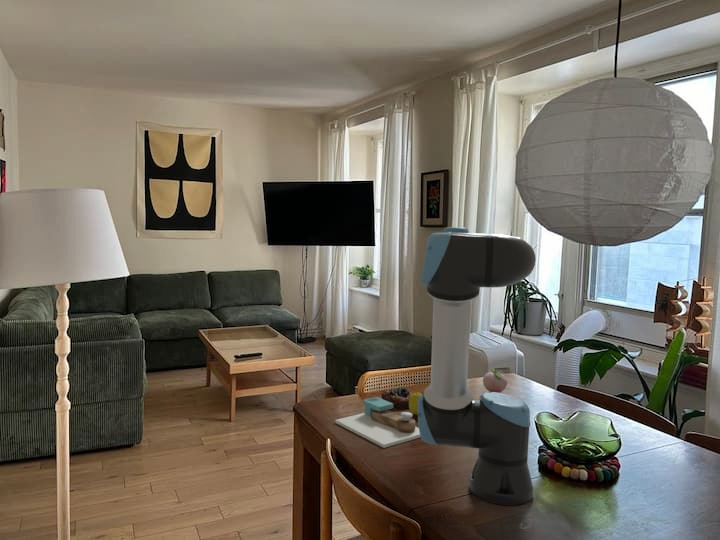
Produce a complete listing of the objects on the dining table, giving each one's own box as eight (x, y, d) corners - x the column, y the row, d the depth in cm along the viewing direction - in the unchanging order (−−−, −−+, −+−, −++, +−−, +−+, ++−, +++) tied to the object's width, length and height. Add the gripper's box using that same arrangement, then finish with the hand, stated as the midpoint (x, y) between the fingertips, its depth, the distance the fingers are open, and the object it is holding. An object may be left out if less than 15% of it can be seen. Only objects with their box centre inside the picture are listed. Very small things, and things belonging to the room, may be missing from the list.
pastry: (376, 402, 206) (377, 386, 205) (403, 397, 213) (404, 382, 212) (394, 411, 197) (395, 395, 196) (422, 406, 203) (423, 390, 203)
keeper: (392, 421, 186) (393, 403, 186) (378, 425, 183) (379, 407, 182) (376, 414, 193) (376, 396, 192) (362, 417, 189) (362, 399, 189)
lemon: (424, 412, 196) (425, 389, 195) (424, 418, 191) (425, 394, 190) (408, 411, 197) (409, 388, 196) (408, 417, 191) (409, 393, 190)
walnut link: (418, 429, 177) (419, 421, 177) (406, 433, 173) (407, 425, 173) (381, 415, 188) (381, 408, 188) (369, 419, 184) (369, 411, 184)
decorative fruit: (478, 391, 222) (479, 366, 221) (497, 390, 224) (499, 365, 223) (489, 399, 213) (490, 372, 212) (509, 398, 215) (511, 372, 214)
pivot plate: (427, 435, 176) (428, 416, 175) (384, 447, 165) (384, 427, 165) (377, 412, 195) (378, 395, 194) (335, 422, 184) (335, 404, 183)
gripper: (448, 280, 168) (444, 359, 171) (477, 278, 176) (474, 354, 179) (429, 277, 174) (426, 354, 176) (459, 275, 182) (456, 349, 184)
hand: (450, 354), depth 177 cm, fingers closed
